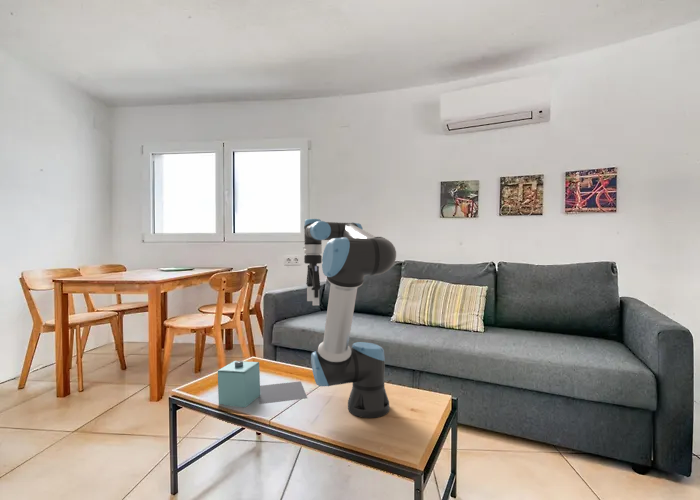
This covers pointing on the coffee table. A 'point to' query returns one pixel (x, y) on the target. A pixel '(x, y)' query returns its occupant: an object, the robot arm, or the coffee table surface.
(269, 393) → the mat
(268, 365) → the coffee table surface
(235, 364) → the teal box with knob
